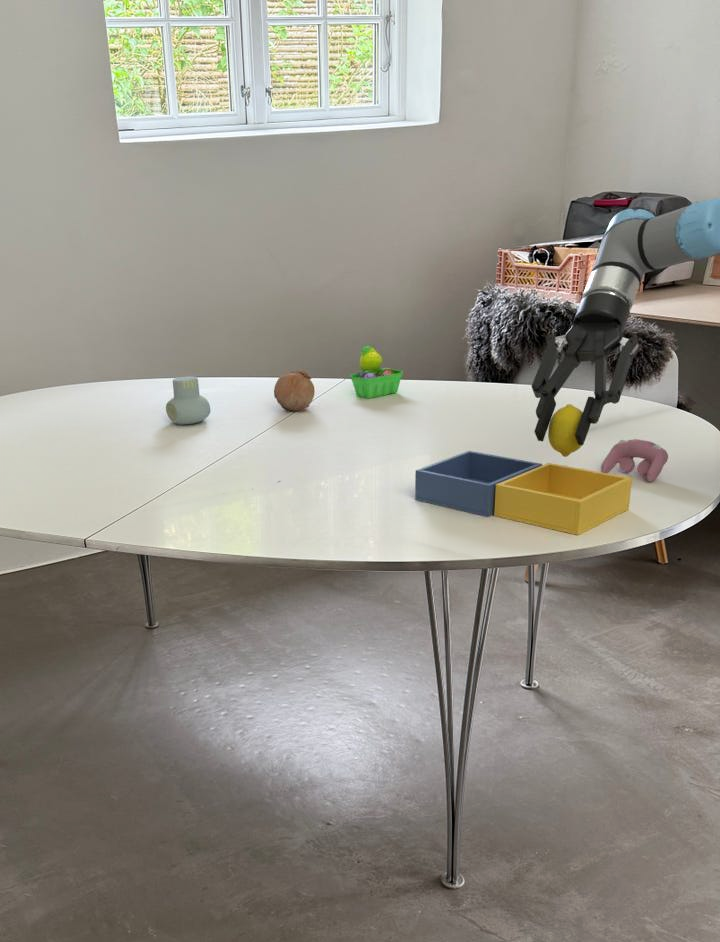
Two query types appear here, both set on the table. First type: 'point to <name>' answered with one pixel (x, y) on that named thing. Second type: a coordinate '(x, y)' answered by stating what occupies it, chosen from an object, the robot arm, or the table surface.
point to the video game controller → (640, 449)
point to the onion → (294, 391)
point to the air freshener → (187, 402)
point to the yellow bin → (563, 498)
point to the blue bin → (467, 481)
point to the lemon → (564, 430)
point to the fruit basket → (374, 376)
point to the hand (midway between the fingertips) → (558, 438)
